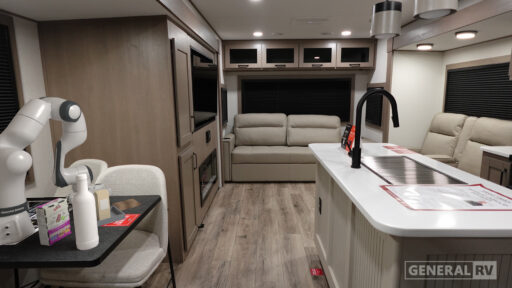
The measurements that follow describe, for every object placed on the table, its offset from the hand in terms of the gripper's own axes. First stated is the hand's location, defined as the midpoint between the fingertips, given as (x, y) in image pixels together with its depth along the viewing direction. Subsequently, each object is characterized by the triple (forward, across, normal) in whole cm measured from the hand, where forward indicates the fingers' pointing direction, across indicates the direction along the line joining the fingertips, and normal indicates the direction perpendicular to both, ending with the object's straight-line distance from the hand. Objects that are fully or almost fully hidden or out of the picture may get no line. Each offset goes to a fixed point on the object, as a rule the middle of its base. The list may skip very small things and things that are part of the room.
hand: (95, 198), depth 148 cm
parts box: (+11, 0, +8) cm, 13 cm away
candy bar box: (+18, -21, +8) cm, 29 cm away
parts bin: (+11, 0, +8) cm, 13 cm away
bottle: (+33, -13, +8) cm, 36 cm away
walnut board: (+1, +15, +8) cm, 17 cm away
